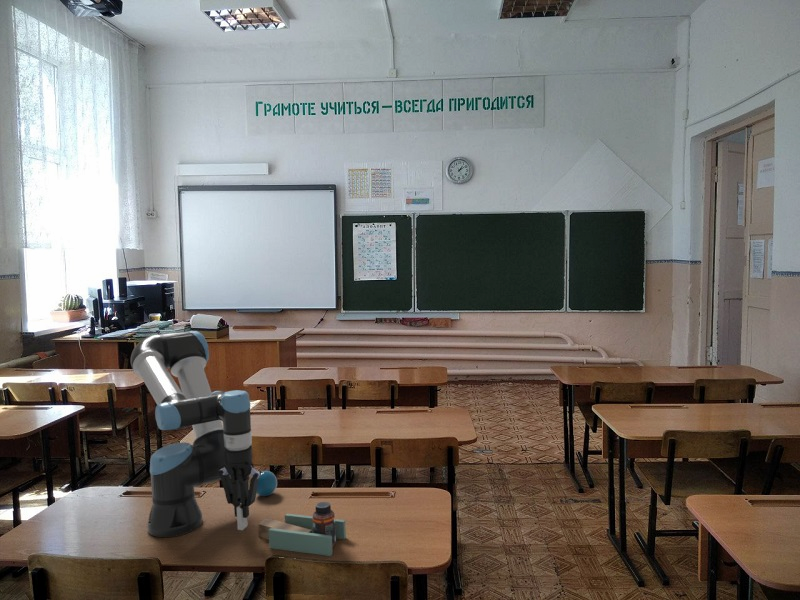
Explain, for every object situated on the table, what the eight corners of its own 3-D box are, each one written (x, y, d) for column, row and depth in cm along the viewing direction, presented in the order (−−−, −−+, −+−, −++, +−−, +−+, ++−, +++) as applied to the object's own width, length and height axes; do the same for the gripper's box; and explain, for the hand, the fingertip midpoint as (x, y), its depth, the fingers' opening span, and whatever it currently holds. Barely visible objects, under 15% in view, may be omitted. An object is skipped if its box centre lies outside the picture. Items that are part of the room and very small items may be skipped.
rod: (258, 537, 168) (258, 523, 168) (268, 531, 171) (267, 518, 171) (303, 550, 160) (302, 536, 159) (312, 544, 163) (311, 530, 163)
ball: (281, 491, 199) (280, 467, 199) (271, 501, 192) (270, 476, 191) (259, 489, 201) (258, 466, 201) (248, 499, 193) (247, 475, 193)
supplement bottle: (340, 541, 163) (338, 501, 162) (328, 552, 158) (326, 510, 157) (321, 538, 166) (319, 498, 165) (309, 547, 161) (307, 507, 160)
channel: (269, 547, 161) (268, 530, 161) (287, 530, 171) (286, 513, 171) (330, 556, 156) (330, 537, 155) (345, 537, 166) (345, 520, 165)
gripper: (210, 449, 166) (215, 531, 168) (251, 452, 162) (256, 536, 164) (225, 440, 173) (230, 519, 175) (265, 443, 169) (269, 524, 171)
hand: (242, 527), depth 169 cm, fingers closed
